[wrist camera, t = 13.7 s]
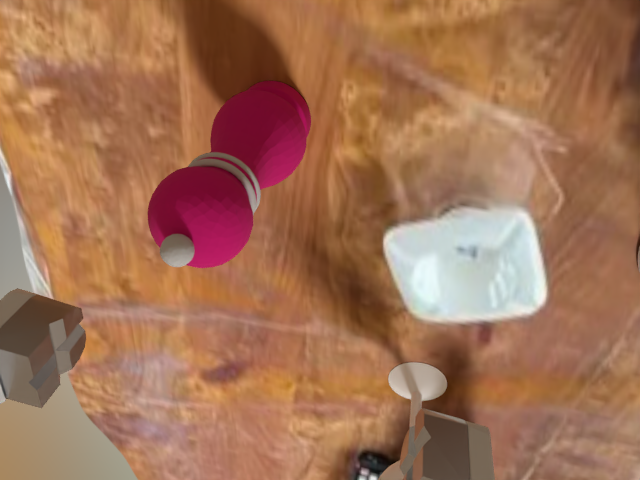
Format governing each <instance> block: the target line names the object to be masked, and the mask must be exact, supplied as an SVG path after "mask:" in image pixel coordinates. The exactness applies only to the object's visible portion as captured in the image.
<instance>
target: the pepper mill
mask: <svg viewBox="0 0 640 480" xmlns="http://www.w3.org/2000/svg"><path fill="white" fill-rule="evenodd" d="M310 125H311V116H310V112H309V109H308V106H307V104H306V102H305V100H304V99H303V98H302V96H301V95H300V94H299V93H298V92H297V91H296V90H295V89H293V88H292V87H290V86H289V85H287V84H284V83H282V82H278V81H263V82H259V83H257V84H254V85H253V86H251V87H250V88H249V89H248V90H247V91H244V92H241V93H239V94H237V95H235V96H233V97H232V98H230V99H229V100H227V101H226V103H225V104H224V105H223V106H222V108H221V109H220V110H219V112H218V113H217V115H216V117H215V119H214V122H213V126H212V131H211V152H210V153H206V154H203V155H200V156H198V157H197V158H195V159H194V160H193V161H192V162H191V163H190V165H189V166H188V167H186V168H182V169H179V170H176V171H175V172H173V173H171V174H170V175H168V176H167V177H166V178H165V179H164V180H162V182H161V183H160V184H159V185H158V187H157V188H156V190H155V191H154V193H153V195H152V197H151V200H150V203H149V207H148V223H149V228H150V231H151V234H152V236H153V238H154V240H155V242H156V244H157V245H158V246H159V247H160V255H161V257H162V259H163V260H164V261H165V262H166V263H167V264H168V265H170V266H173V267H181V266H184V265H188V266H192V267H198V268H207V267H215V266H218V265H222V264H224V263H226V262H227V261H229V260H231V259H232V258H234V257H235V256H236V255H237V254H238V253H239V252H240V251H241V250H242V248H243V247H244V246H245V244H246V243H247V242H248V239H249V237H250V234H251V230H252V227H253V214H254V212H255V211H256V209H257V208H258V205H259V202H260V197H261V195H260V190H261V189H263V188H266V187H269V186H273V185H275V184H277V183H279V182H281V181H282V180H284V179H285V178H287V177H288V176H289V175H290V174H292V172H293V171H294V170H295V169H296V167H297V166H298V165H299V163H300V162H301V160H302V158H303V155H304V153H305V148H306V138H307V136H308V134H309V130H310Z"/></svg>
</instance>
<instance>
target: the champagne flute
mask: <svg viewBox="0 0 640 480" xmlns="http://www.w3.org/2000/svg"><path fill="white" fill-rule="evenodd" d="M388 381H389V385H390V386H391V388H392V389H393V390H394V391H395V392H396V393H397V394H399V395H400V396H402V397H405V398H407V399H411V409H410V426H409V428H410V427H412V426H415V419H416V415H417V413H418V412H419V410H420V409H421V407H422V401H427V400H432V399H435V398H437V397H439V396H441V395H442V394H443V393H444V392H445V390H446V388H447V380H446V378H445V376H444V375H443V373H442V372H441V371H439V370H438V369H437V368H435V367H433V366H431V365H428V364H424V363H418V362H409V363H404V364H401V365H398V366H397V367H395V368H394V369H393V370H392V371H391V372H390V374H389V377H388ZM403 478H404V475H403V473H402V471H401V469H400V460H399V461H397V462H396V463H394V464H392V465H391V466H389V467H388V468H387V469H386V470H385V471H384V472H383V473H382V475H381V476H380V477H379V479H378V480H403Z"/></svg>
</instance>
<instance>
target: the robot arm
mask: <svg viewBox="0 0 640 480" xmlns="http://www.w3.org/2000/svg"><path fill="white" fill-rule="evenodd" d="M638 268H639V272H640V247H639V251H638ZM82 319H83V314H82V309H81V308H78V307H75V306H72V305H69V304H66V303H63V302H60V301H56V300H53V299H50V298H47V297H44V296H41V295H38V294H35V293H31V292H28V291H25V290H21V289H15V290H13V291H10V292H9V293H8V294H7V295H5V296H4V298H2V299H1V300H0V404H1V403H2V402H4V401H5V398H6V399H10V400H14V401H17V402H21V403H25V404H28V405H32V406H35V407H39V408H42V407H43V405H44V404H45V403H46V402H47V400H48V399H49V398H50V397H51V395H52V394H53V393H54V392H55V390H56V389H57V388H58V386H59V385H60V374H62V373H64V372H67V371H69V370H71V369H72V368H73V367H74V366H75V364H76V363H77V361H78V360H79V359H80V356H81V354H82V352H83V350H84V348H85V342H86V334H85V330H84V329H83V328H82V327H81V326H80V324H79V323H80V322H81V320H82ZM400 469H401V471H402V473H403V475H404V478H403V480H495V478H494V467H493V457H492V446H491V436H490V431H489V429H488V427H485V426H482V425H479V424H475V423H471V422H468V421H464V420H463V419H460V418H456V417H453V416H449V415H445V414H442V413H438V412H435V411H431V410H427V409H424V408H422V409H420V410H419V412H418V413H417V415H416V419H415V426H412V427H410V428H409V430H408V432H407V434H406V436H405V439H404V442H403V446H402V451H401V458H400Z"/></svg>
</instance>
